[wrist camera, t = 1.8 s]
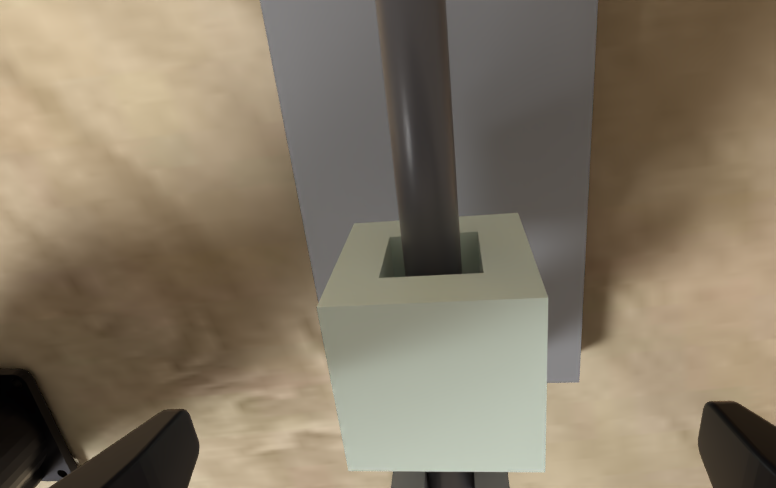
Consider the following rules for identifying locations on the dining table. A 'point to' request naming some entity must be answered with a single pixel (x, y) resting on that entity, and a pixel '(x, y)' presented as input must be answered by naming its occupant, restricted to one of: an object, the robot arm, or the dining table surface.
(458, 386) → the sleeve
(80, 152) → the dining table surface
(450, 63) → the axle rod stand
